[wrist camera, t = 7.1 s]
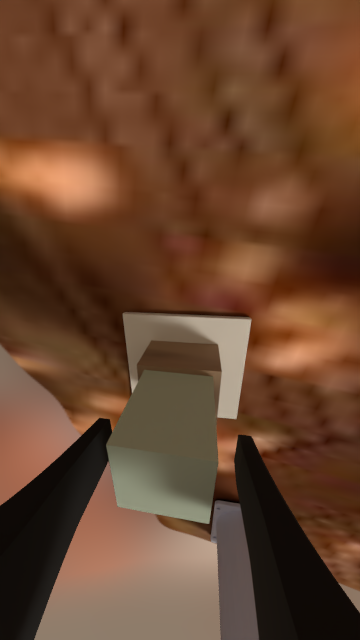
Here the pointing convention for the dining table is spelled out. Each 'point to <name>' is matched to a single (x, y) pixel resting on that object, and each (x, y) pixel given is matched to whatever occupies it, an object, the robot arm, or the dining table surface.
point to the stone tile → (194, 330)
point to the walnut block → (184, 361)
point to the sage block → (167, 447)
